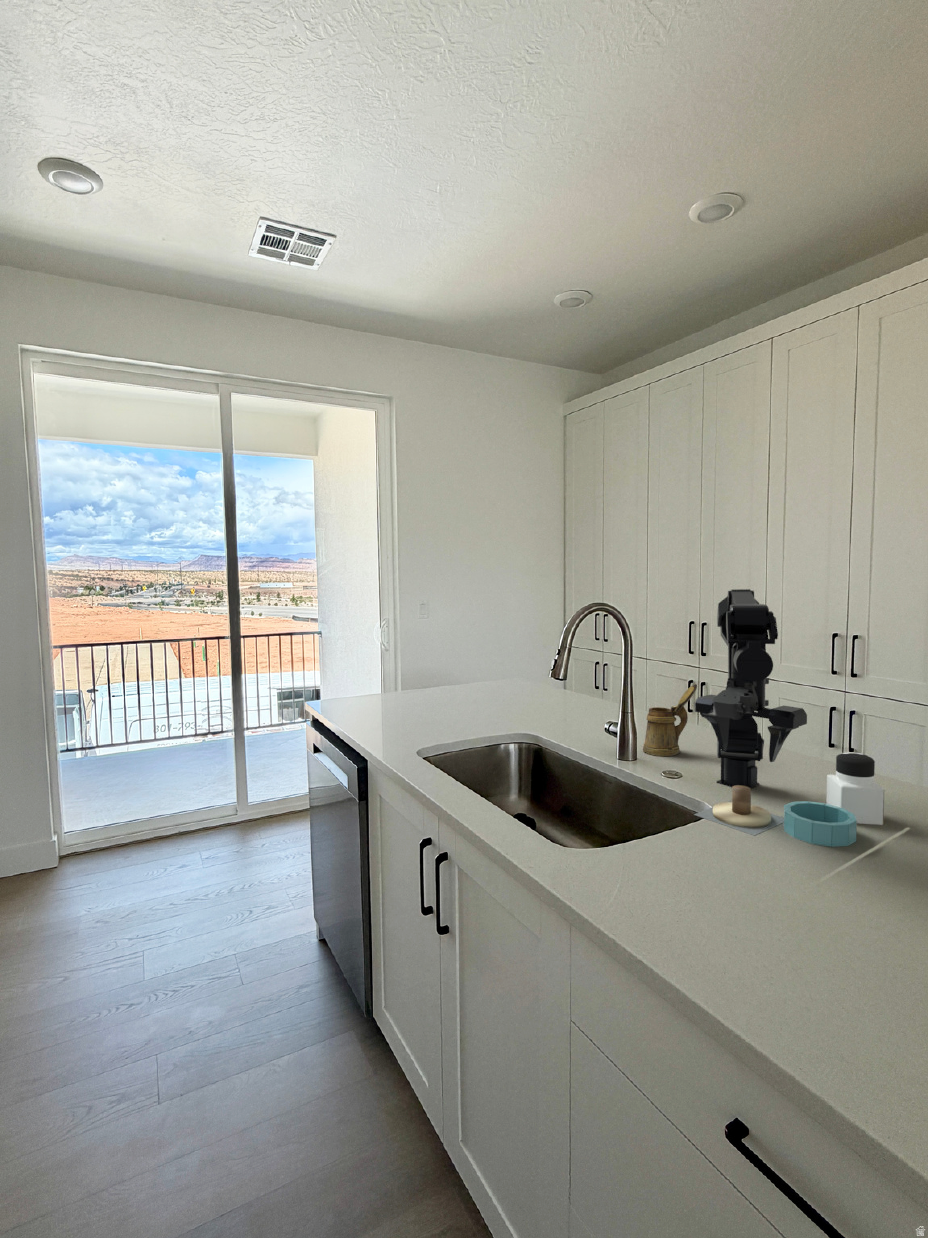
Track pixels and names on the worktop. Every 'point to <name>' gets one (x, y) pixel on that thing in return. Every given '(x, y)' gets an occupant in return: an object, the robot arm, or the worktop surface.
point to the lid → (741, 810)
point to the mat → (752, 831)
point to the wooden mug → (666, 727)
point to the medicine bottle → (856, 788)
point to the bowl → (820, 823)
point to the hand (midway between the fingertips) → (747, 756)
